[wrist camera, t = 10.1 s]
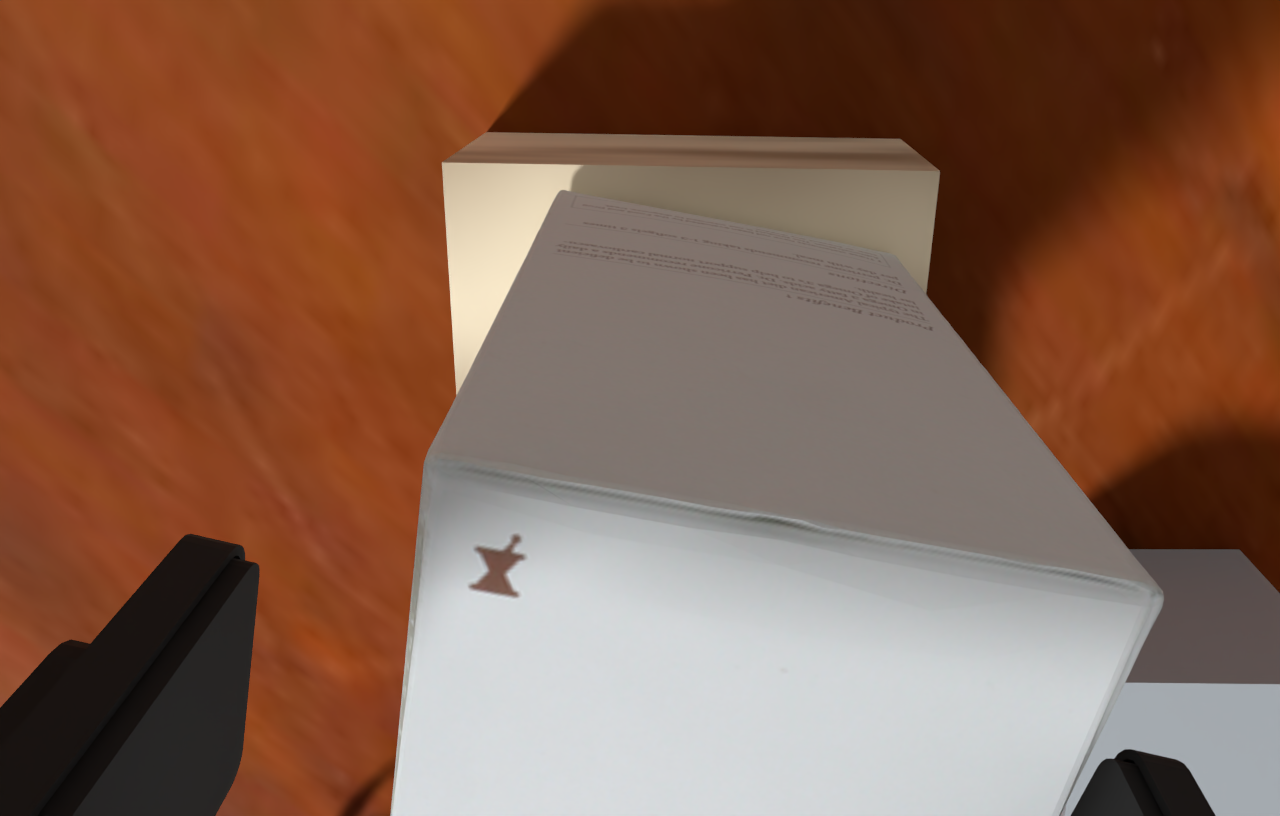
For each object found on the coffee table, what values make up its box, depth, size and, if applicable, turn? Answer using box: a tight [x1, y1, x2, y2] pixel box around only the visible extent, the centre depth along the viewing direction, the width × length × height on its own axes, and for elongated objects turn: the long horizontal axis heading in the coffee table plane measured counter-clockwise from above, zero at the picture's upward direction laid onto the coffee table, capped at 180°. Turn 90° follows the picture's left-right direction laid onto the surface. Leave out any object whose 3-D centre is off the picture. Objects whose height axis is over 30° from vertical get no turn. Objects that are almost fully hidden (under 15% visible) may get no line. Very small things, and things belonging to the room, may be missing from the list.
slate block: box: [1060, 549, 1280, 816], centre depth 27 cm, size 6×6×6 cm
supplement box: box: [390, 190, 1164, 816], centre depth 17 cm, size 7×7×13 cm
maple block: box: [442, 132, 940, 394], centre depth 25 cm, size 10×10×5 cm
